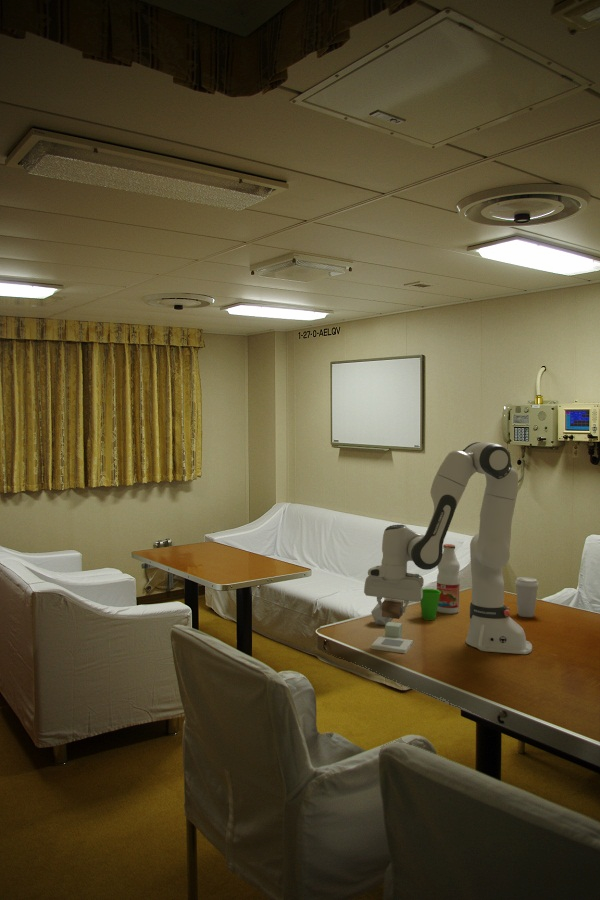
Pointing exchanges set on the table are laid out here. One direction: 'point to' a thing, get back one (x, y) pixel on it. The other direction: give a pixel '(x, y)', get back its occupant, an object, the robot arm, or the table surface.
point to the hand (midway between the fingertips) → (392, 611)
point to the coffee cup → (526, 596)
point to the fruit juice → (448, 581)
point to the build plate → (392, 644)
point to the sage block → (393, 630)
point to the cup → (430, 603)
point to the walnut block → (392, 608)
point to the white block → (379, 616)
